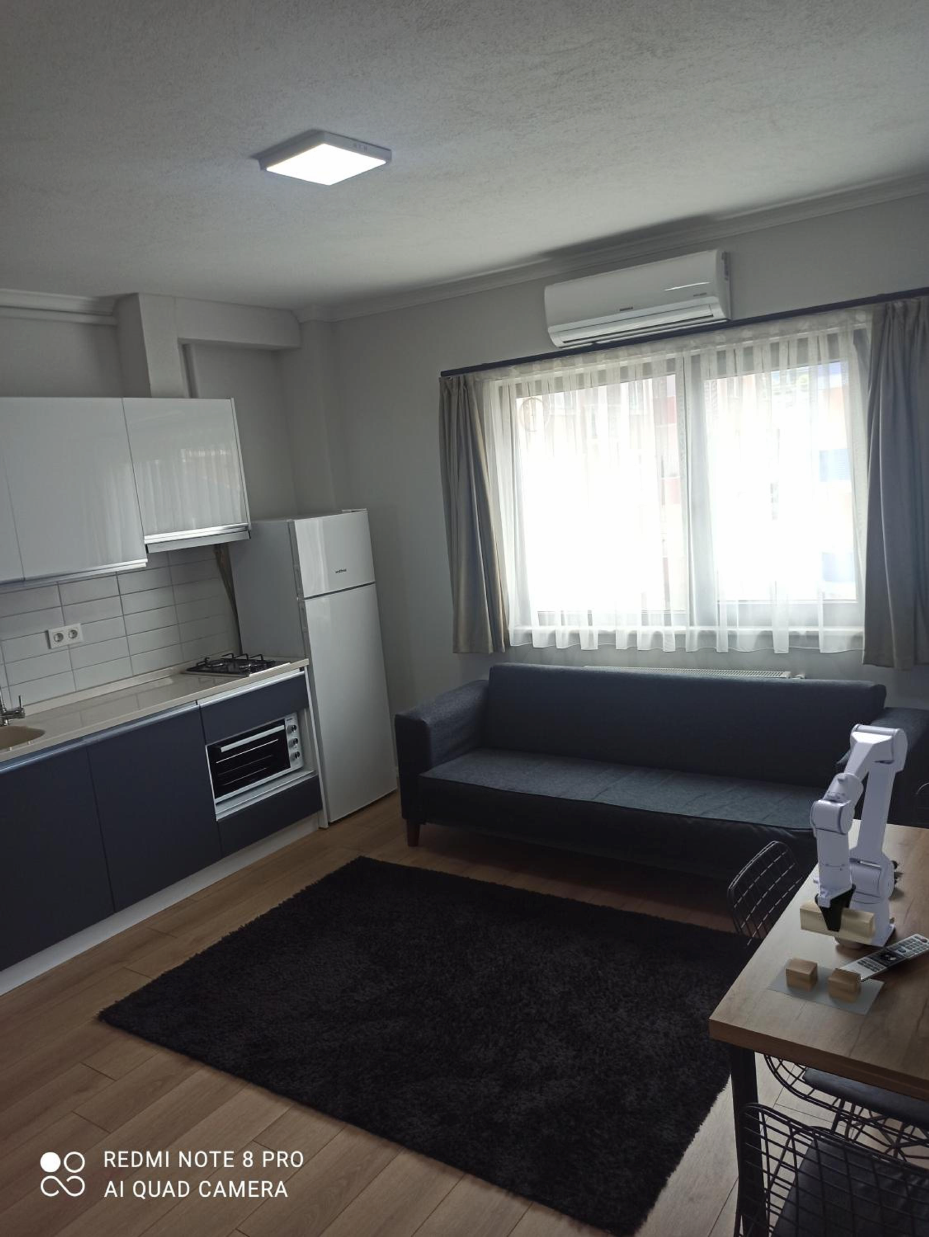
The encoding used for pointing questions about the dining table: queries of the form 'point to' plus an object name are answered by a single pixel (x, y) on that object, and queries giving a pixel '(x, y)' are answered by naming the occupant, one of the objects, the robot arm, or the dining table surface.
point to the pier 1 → (802, 974)
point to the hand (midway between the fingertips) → (837, 925)
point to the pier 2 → (844, 985)
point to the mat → (822, 991)
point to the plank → (852, 923)
